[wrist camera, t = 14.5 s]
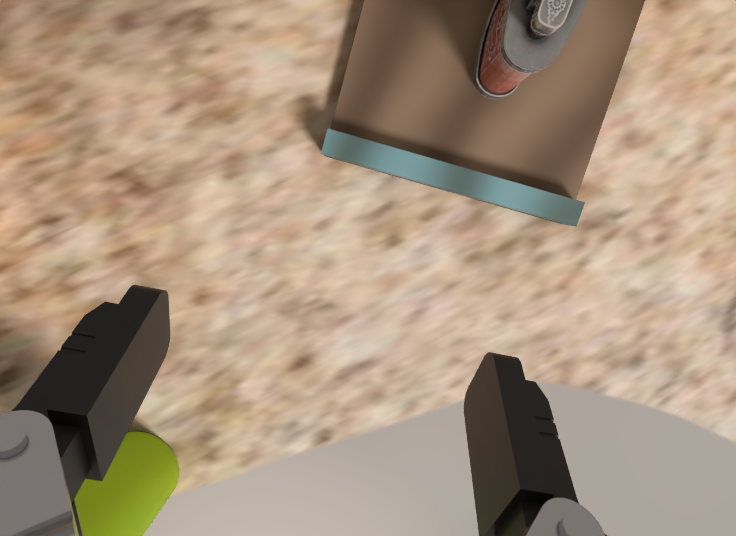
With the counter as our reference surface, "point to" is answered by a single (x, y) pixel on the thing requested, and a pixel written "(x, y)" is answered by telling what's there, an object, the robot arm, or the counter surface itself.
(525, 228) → the counter surface
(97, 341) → the robot arm
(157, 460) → the soap dispenser
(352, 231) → the counter surface
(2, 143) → the counter surface
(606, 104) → the wall holder
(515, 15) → the lighter
